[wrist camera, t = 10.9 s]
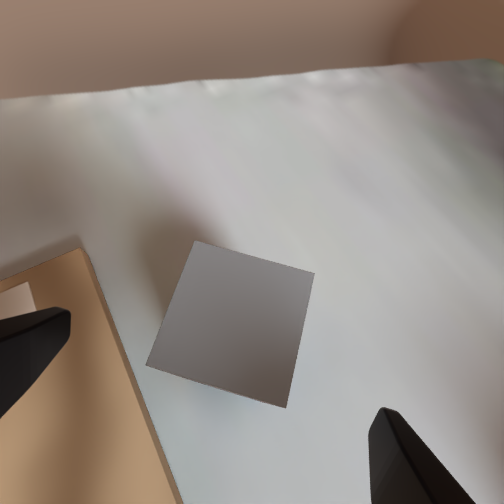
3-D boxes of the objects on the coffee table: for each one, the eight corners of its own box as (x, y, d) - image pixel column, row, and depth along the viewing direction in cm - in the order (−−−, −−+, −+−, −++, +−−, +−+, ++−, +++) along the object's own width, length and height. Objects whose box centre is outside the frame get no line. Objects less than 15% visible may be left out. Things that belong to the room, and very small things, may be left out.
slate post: (260, 401, 18) (286, 408, 9) (191, 380, 18) (145, 365, 9) (277, 330, 19) (314, 273, 10) (214, 312, 20) (194, 240, 11)
